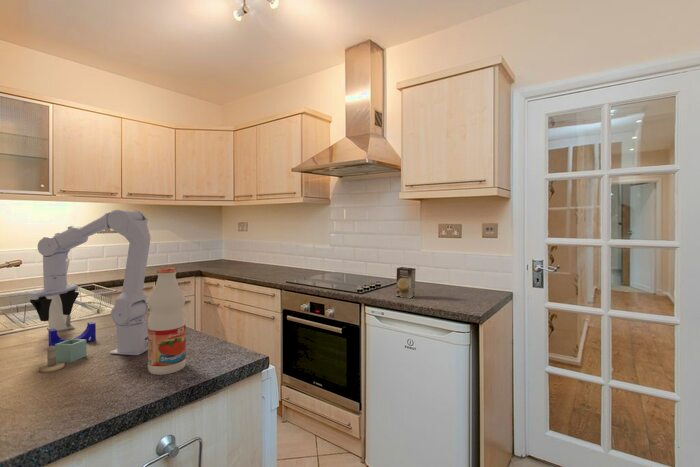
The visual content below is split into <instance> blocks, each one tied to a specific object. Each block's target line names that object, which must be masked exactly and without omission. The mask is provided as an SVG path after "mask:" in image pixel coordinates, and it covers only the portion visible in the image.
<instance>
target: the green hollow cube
mask: <svg viewBox="0 0 700 467" xmlns="http://www.w3.org/2000/svg"><path fill="white" fill-rule="evenodd" d="M55 347H56V362H64V363H70V364H71V363H73V362H76V361H79V360H80V359H82V358H85V357H87V354H88V353H87V342H86V340H85V339H73V338H68V340H66V341H63V342H60V343H57V344H55Z"/></svg>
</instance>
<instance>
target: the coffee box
mask: <svg viewBox="0 0 700 467" xmlns="http://www.w3.org/2000/svg"><path fill="white" fill-rule="evenodd" d="M416 270H417V269H416V268H415V267H413V268H412V267H406V266H405V267H404V266H401V267H396V287H395V289H396V290H395V291H396V292H395V297H396V296H403V297H410V298H411V297H413V296H416V273H417V272H416ZM413 298H414V297H413ZM411 299H412V298H411Z"/></svg>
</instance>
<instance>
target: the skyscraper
mask: <svg viewBox="0 0 700 467" xmlns="http://www.w3.org/2000/svg"><path fill="white" fill-rule="evenodd" d="M69 265H70V259H69V257H68V258H67V259H66V272H67V273H68V270H69V267H70V266H69ZM67 286H69V285H68V283H67ZM52 294H53V293H52ZM46 298H47V299H52V301H51V304H50V308H49V320H48V321H47V323H48V327H46V329H47V330H48V329H56V330H57V333H59V332H65V331H70V330H75V326H73V325H72V324H71V323H72V322H71V319H72V316H71V314H70V315H63V310H62V302H61V298H60V296H59V294H58V295H53V296H48V297H46Z"/></svg>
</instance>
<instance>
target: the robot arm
mask: <svg viewBox="0 0 700 467" xmlns="http://www.w3.org/2000/svg"><path fill="white" fill-rule="evenodd" d="M108 229H111V230H113V231H114V232H116V233H118V234H119V235H121V236H123V237H124V238H125V240H127V241H128V242H129V245H128V246H129V247H128V251H127V258H126V264H125V272H124V278H123V285H122V292H121V293H119V295H118V296H117V298H116V300H115V304H114V306H113V307H112V309H111V311H110V317H111V320H112V321H113V322H114V323H115V326H116V349H113V350H111V351H110V352H109V354H112V355H128V356H139V355H141V354H143V353H144V352H148V322H145V321H144V320H145V316H146V315H147V313H148V310H149V305H148V301H147V300H148V296H147V295H146V294H145V293H144V284H145V277H146V271H147V264H148V258H149V251H150V245H151V234H150V231H149V226H148V218H147V217H146V215H144V214H143V212H142V211H139V210H121V209H113V210H112V211H111V212H110V211H108V212H106V213H104V214H103V215H102V216H101V217H98V218H97V219H95V220H93V221H91V222H89V223H87V224H86V225H84V226H82V227H81V226H79V225H78V226H77V225H70V226H68V227H67V229H66V230H64V231H61V232H56V233H55V234H54V236H52V237H50V236H46V237H45V236H44V237H42V238H41V239H40V240H39V241H38V242H37V251H38V253H39V254H40V255H41V256H42V268H43V269H42V271H43V272H42V276H43V279H42V280H43V288H42V289H41V290H37V291H34V292H30V293H29V302H30V304H31V305H32V306H33V307H34V309H35V311H36V312H37V315H38V318H39V320H40V322H48V320H49V308H50V304H51V301H52V299H47V298H46V297H48V296H53V295H58V294H59V296H60V298H61V302H62V310H63V315H70V316H71V313H72V310H73V307H74V304H75V301H76V300H77V298H78V297H79V295H80V293H79V284H71V285H68V286H67V284H68V281H67V278H68V277H67V275H68V271H67V272H66V261H67V260H68V259H69V256H68V255H69V252H70V251H71V250H72V249H74V248H76V247H79V246H80V245H83V244H85V243H87V242H88V240H89V237H91V236H93V235H96V234H98V233H100V232H103V231H106V230H108ZM67 258H68V259H67ZM52 293H53V294H52Z"/></svg>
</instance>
